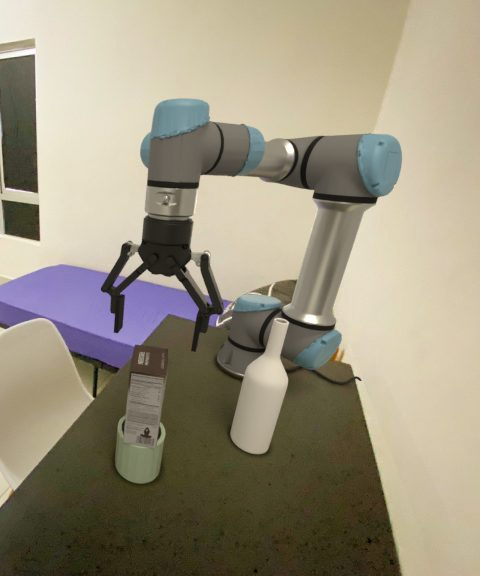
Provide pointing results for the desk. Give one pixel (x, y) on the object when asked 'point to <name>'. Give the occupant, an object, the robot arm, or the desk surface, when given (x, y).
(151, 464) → the cup
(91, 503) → the desk surface
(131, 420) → the coffee box
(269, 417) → the bottle
